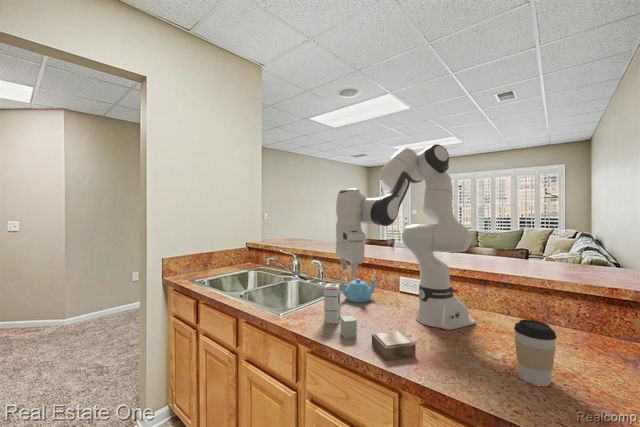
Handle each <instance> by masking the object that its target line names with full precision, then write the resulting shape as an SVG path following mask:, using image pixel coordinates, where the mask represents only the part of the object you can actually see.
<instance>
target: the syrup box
mask: <svg viewBox="0 0 640 427" xmlns="http://www.w3.org/2000/svg"><path fill="white" fill-rule="evenodd" d="M323 307H324V309H323V310H324V313H323V314H324V317H323V320H324V321H323V322H324V323H326V324H337V325H338V324H339V322H341V283H335V282H334V283H332V282H331V283H326V284H325V285H324V287H323Z"/></svg>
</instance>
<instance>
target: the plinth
mask: <svg viewBox="0 0 640 427" xmlns="http://www.w3.org/2000/svg"><path fill="white" fill-rule="evenodd" d="M371 346H372V347H373V348H374V349H375V351H377V353H378V354H379V355H380V356H381V357H382V358H383V359H384V361H390V360H398V359H399V360H400V359H405V358H411V357H412V358H413V357H416V355H417V354H416V346H417V345H416V343H414V342H413V341H412V340H411V339H409V338H408V337H407V336H405V334H403V333H402V332H401V331H400V330H397V331H387V332H378V333H372V334H371Z"/></svg>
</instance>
